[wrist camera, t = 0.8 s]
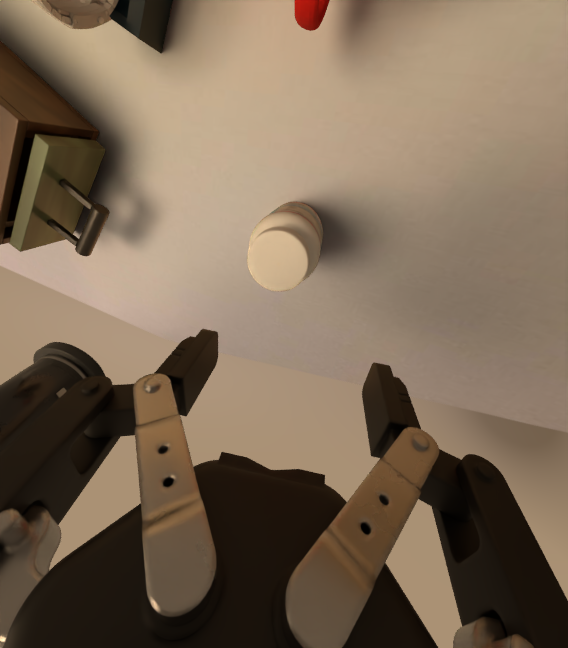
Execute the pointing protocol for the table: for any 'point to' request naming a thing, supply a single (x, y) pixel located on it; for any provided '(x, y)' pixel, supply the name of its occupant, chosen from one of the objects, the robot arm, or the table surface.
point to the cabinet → (28, 122)
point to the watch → (114, 16)
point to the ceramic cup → (310, 13)
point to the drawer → (55, 192)
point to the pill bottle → (285, 247)
